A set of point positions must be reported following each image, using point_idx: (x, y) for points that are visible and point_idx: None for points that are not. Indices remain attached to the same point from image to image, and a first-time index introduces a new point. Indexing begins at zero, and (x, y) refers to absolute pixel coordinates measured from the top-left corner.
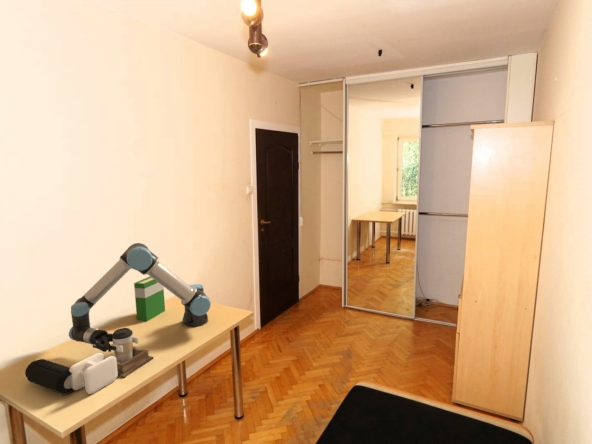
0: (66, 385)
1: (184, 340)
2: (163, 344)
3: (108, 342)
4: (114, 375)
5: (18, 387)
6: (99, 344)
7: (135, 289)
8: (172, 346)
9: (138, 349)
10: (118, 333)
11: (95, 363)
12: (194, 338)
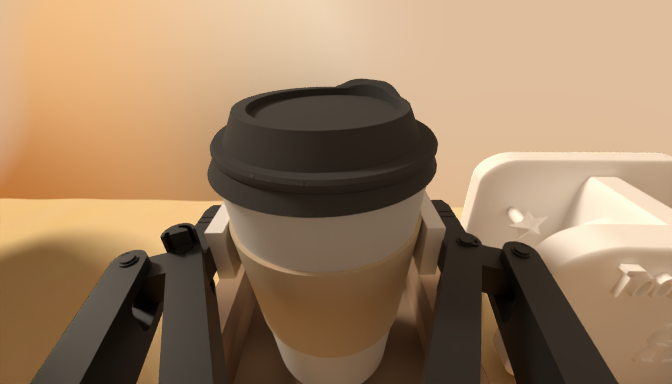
0: None
1: (36, 255)
2: (45, 321)
3: (444, 289)
4: None
5: None
6: (594, 364)
7: None
8: (102, 264)
9: (237, 276)
10: (394, 88)
11: (619, 189)
12: (31, 233)
